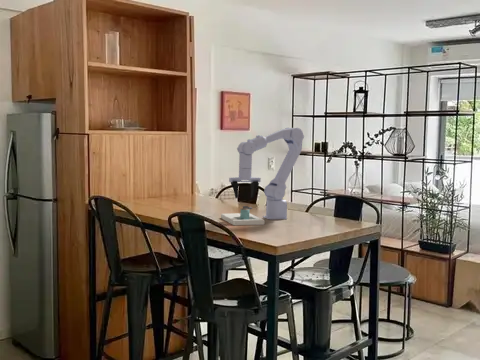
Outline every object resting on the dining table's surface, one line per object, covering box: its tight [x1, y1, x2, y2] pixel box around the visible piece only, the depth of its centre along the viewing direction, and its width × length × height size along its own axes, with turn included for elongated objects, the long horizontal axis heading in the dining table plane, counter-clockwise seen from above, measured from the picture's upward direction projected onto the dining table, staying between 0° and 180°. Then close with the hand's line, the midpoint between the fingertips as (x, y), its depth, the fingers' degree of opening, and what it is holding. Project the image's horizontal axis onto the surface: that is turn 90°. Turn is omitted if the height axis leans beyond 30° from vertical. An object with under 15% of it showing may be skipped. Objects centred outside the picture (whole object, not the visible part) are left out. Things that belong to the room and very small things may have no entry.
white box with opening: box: [220, 205, 265, 226], centre depth 244 cm, size 14×20×6 cm
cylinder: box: [239, 207, 251, 220], centre depth 240 cm, size 4×4×6 cm
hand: (244, 197), depth 249 cm, fingers open, 7 cm apart
